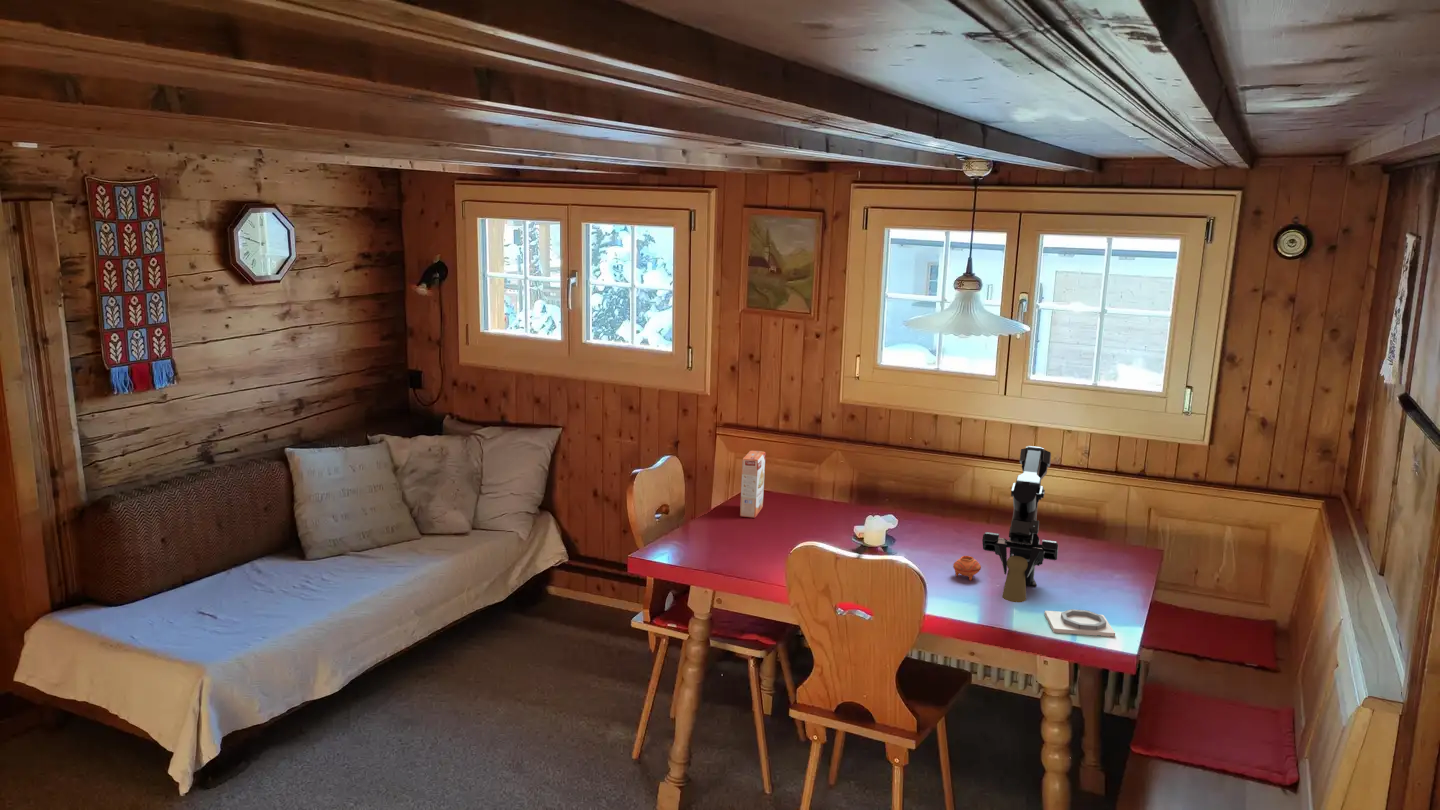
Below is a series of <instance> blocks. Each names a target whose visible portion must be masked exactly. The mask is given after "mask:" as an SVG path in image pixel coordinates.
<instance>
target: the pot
mask: <svg viewBox="0 0 1440 810" xmlns="http://www.w3.org/2000/svg"><path fill="white" fill-rule="evenodd" d="M952 568H953V569H954V573H955V576H956V577H959V575H961V576H964V577H968V579H969V581H970V582H971V581H972V580H973V577H974V575H975V576H976V575H977V574H978V573H979V572H980V571H981V569H982V565H981V564H980V562H979V561H978V560H977V559H975V558H974V557H973V556H971V555H970V556H969V555H963V556H961V557H960V558H958V559H957V560H955V562H954V563H953V564H952Z"/></svg>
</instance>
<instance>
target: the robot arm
mask: <svg viewBox="0 0 1440 810" xmlns="http://www.w3.org/2000/svg"><path fill="white" fill-rule="evenodd" d="M1051 460H1052V452H1051V451H1048V450H1046V449H1045V448H1043V447H1042V446H1034V445H1027V446H1025V448H1021V449H1020V456H1019V464H1021V471H1022V473H1020V474H1018V475H1017V477H1016V481H1015V482H1013V484H1012V486H1011V491H1010V496H1011V498H1012V501H1013V502H1012V503H1013V504H1012V505H1013V513H1012V518H1011V523H1010V524H1011V525H1010V527H1009V532H1008V538H1009V539H1007V538H1003V537H1000V533H995V532H988V531H985V532H984V533H983V534H982V550H984V551H988V552H994V554H995V555H997V556H999V558H1000V560H1001V564H1002V569H1003V573H1004V575H1005V576H1007V573H1008V567H1007V560H1008V555H1007V553H1008V552H1007V551H1008V550H1007V548H1008V549H1009V557H1011V556H1020V557H1023V558H1025V559H1026V560H1027V562H1028V567H1027V569H1026V570H1025V582H1026V586H1027V587H1028V586H1031V587H1037V586H1038V585H1037V582H1036V580H1035V570H1036V568H1035V567H1036V566H1040V565H1041V566H1042V565H1043V564H1044V560H1050V561H1056V560H1058V554H1059V542H1057V541H1055V540H1046V539H1042V541H1041V544H1040V537H1039V535H1038V534H1039V527H1040V521H1039V520H1037V515H1038V507H1039V502H1040V501H1041V500H1042V499H1044V498H1045V493H1046V490H1045V489H1044V486H1043V485H1041V483H1042V480H1043V479H1044V478H1045V476H1046V475H1047V473H1048V468H1050V467H1051Z"/></svg>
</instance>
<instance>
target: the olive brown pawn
mask: <svg viewBox="0 0 1440 810" xmlns="http://www.w3.org/2000/svg"><path fill="white" fill-rule="evenodd" d="M1027 567H1028V562H1027V560H1026V559H1025V558H1023V557H1020V556H1011V557H1010V556H1009V557H1007V573H1006V577H1005V582H1004V586H1003V590H1002V594H1001V598H1002V599H1003V600H1005V601H1007V602H1011V603H1024V602H1026V601H1027V587H1026V586H1027V585H1026V582H1025V570H1026V569H1027Z"/></svg>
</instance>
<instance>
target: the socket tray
mask: <svg viewBox="0 0 1440 810" xmlns="http://www.w3.org/2000/svg"><path fill="white" fill-rule="evenodd" d="M1044 616H1045V618H1046V620H1047V622H1048V624H1049V626H1050V628H1051V630H1052V631H1053V633H1059V634H1074V635H1086V636H1097V635H1101V637H1110V636H1115V637H1116V632H1115V631H1114V629H1113V627H1112V626H1111V624H1110V622H1109V621H1108V620H1107V618H1106V616H1105V615H1104V614H1098V613H1096V612H1093V611H1090V610H1084V609H1067V610H1065V611H1058V610H1057V611H1056V610H1044Z"/></svg>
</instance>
